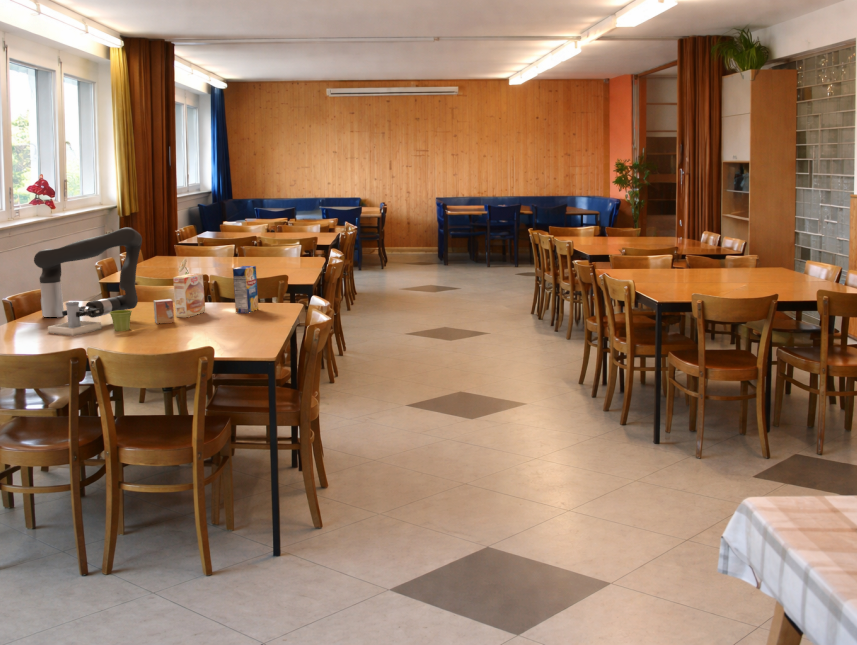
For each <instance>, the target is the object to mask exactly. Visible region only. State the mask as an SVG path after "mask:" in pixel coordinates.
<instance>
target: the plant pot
mask: <svg viewBox="0 0 857 645" xmlns="http://www.w3.org/2000/svg"><path fill="white" fill-rule="evenodd" d="M132 312H133V311H132V309H127V310H117V311H111V312H109V314H110V317H111V319H112V324H113V329H114V331H115V332H126V331H129V330H130V326H131V316H132Z"/></svg>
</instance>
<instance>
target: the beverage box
mask: <svg viewBox="0 0 857 645" xmlns="http://www.w3.org/2000/svg"><path fill="white" fill-rule="evenodd" d="M232 276H233V289H234V290H233V291H234V305H235V307H234V308H235V313H236V312H237V313H236V314H250V313H249V312H251V311H253V312H255V311H254V310H256V309H258V310H259V299H258V298H259V296H258V294H259V293H258V280H257V279H258V278H257V266H256V265H242V266H238V267H234V268H232ZM256 311H257V310H256ZM251 313H252V312H251Z"/></svg>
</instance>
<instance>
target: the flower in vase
mask: <svg viewBox="0 0 857 645" xmlns="http://www.w3.org/2000/svg"><path fill="white" fill-rule="evenodd" d="M186 264H187V258H184V259H183V260H182V261H181V263H180V266H178V268H179V269H178V270H177V272H178V273H181V272H183V270H184V269H185V270H186V271H185V273H184V275H187V274H190V273H189V271H188V268H187V267H186Z"/></svg>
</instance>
